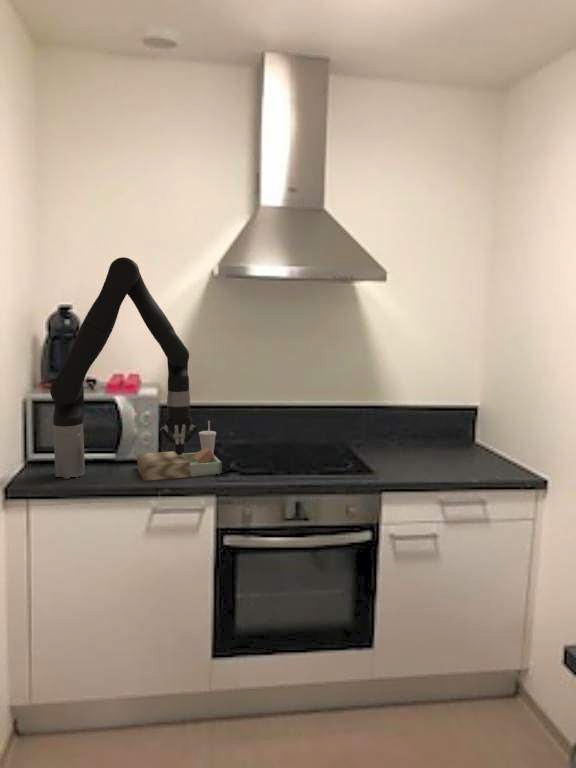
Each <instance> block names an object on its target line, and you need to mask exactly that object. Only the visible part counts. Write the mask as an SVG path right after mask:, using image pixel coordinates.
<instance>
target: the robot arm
mask: <svg viewBox="0 0 576 768" xmlns="http://www.w3.org/2000/svg"><path fill="white" fill-rule="evenodd" d="M127 295H128V297H129V299H130V300H131V301H132V302H133V304H134V306H135V307H136V309H137V312H138V313H139V315H140V317H141V319H142V321H143V322H144V324H145V326H146V328H147V329H148V331H149V332H150V333H151V335H152V337H153V338H154V339H155V341H156V342H157V343H158V345H159V346H160V348H161V350H162V351H163V353H164V356H166V360H167V372H168V375H167V396H166V397H167V399H166V404H167V405H166V406H167V408H166V409H167V411H166V412H167V414H166V415H167V416H166V417H167V419H166V422H165V425H164V426H162V427H160V428H159V431H160V432H161V433H162V435H164V437H165V438H166V439H167V440H168V442H169V443H171V444H174V451H175V453H177V455H182V453H185V450H184V446H185V443H189V442H190V440H191V439H192V438H193V436H194V435H195V434H196V432H197V431H198V427H197V426H196V425H194V424H193V423H192V419H191V396H190V379H189V372H188V371H189V369H188V368H189V359H190V353H189V350H188V348H187V347H186V346H185V344H184V343H183V341H182V339H180V337H179V336H178V334H177V333H176V331H175V329H174V327H173V325H172V324H171V322H170V320H169V319H168V318H167V316H166V314H165V313H164V311H163V309H162V308H161V307H160V306H159V305H158V303H157V301H156V300H155V299H154V297H153V295H152V294H151V293H150V291H149V289H148V288H147V286H146V284H145V281H144V279H143V277H142V274H141V272H140V268H139V266H138V264H137V263H136V262H135V261H134V260H133V259H131V258H129V257H118V258H116V259H114V260H113V261H112V262H111V263H110V265H109V268H108V271H107V274H106V277H105V280H104V283H103V286H102V288H101V290H100V293H99V294H98V296H97V298H96V299H95V301H93V304H92V305H91V307H90V309H89V310H88V311H87V314H85V315H86V316H85V318H84V319H83V321H82V323H81V324H80V327H79V329H78V331H77V334H76V336H75V338H74V340H73V343H72V346H71V349H70V351H69V354H68V357H67V359H65V362H64V364H63V366H62V368H60V371H59V372H58V374H57V376H56V377H55V378H54V379H53V381H52V383H51V385H50V390H49V391H50V393H49V394H50V397H51V399H52V400H53V401H54V411H53V412H54V413H53V417H52V420H53V421H52V422H53V445H54V446H53V449H54V450H53V451H54V473H55V476H54V477H64V478H63V479H71V478H70V477H76V478H80V477H83V476H84V475H85V474H86V472H85V470H86V467H85V440H84V439H85V437H84V415H85V391H84V390H85V389H84V381H85V378H86V376H87V374H88V372H89V370H90V368H91V367H92V365H93V364H94V362H95V361H96V359H97V358H98V357H99V355H100V353H101V352H102V351H103V349H104V347H105V345H106V343H107V342H108V339H109V337H110V336H111V334H112V331H113V329H114V327H115V325H116V323H117V322H116V321H117V318H118V315H119V311H120V309H121V305H122V304H123V302H124V300H125V298H126V296H127ZM168 429H169V430H168ZM169 431H170V433H172V434H173V438H172V437H171V435H170V434H169V433H168V432H169ZM186 433H187V434H186ZM79 476H80V477H79Z"/></svg>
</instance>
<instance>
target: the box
mask: <svg viewBox="0 0 576 768" xmlns="http://www.w3.org/2000/svg"><path fill="white" fill-rule="evenodd" d="M198 452H199V451H197V452H187V453H185V452H183V454H184V456H185V457H186V458H187V459H188V460H189V462H190V477H191V478H193V477H194V478H195V477H203V476H204V477H205V476H217V475H216V474H218V475H221V474H220V473H223V472H222V470H223V468H222V467H223V466H222V465H223V462H222V461H221V460H220V459H219V458H218V457H217V456H216V455H215V453H214V452H213V453H212V452H211V453H212V454H213V455H214V456H215V457H213V458H212V459H211V460H210V461H209V462H207V463H200V464H199V463H198V462H197V461H196V460H195V459H194V457H193V456H195V455H196V454H197V453H198Z"/></svg>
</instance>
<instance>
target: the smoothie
mask: <svg viewBox="0 0 576 768" xmlns="http://www.w3.org/2000/svg"><path fill="white" fill-rule="evenodd" d="M207 424H208V425H207V426H208V429H207V430H201V431H199V432H198V436H199V440H200V449H201V450H202V449H203V448H204V447H206V448H208V449H209V450H210V451H211V452H212V453H213V454H214V450H215V444H216V436H217V432H216V431H214V430H211V420H208V421H207ZM201 450H200V451H201Z"/></svg>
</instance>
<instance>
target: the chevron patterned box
mask: <svg viewBox="0 0 576 768" xmlns="http://www.w3.org/2000/svg"><path fill="white" fill-rule="evenodd" d="M183 453H184V452H183ZM183 453H182V455H177V453H175V450H174V451H173V450H172V451H161V452H149V453H148V452H147V453H136V454H137V455H136V459H137V461H136V464H137V468H136V469H137V470H138V472H139V474H140V476H141V478H142V480H143V481H144V482H146V481H147V482H149V481H157V480H159V481H160V480H171V479H180V478H181V479H182V478H190V477H191V476H190V462H189V460H188V459H187V458H186V457H185V456H184V454H183Z"/></svg>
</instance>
